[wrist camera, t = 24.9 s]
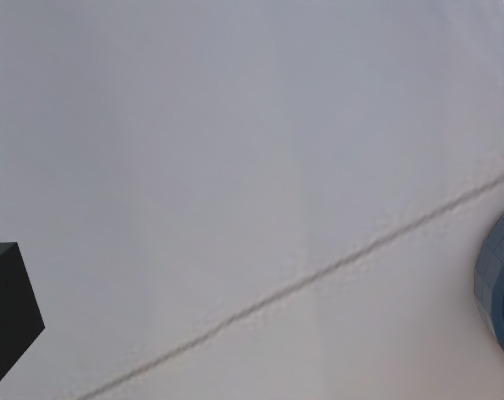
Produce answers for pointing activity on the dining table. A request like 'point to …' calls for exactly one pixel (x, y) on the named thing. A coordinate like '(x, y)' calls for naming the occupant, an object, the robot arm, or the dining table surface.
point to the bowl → (492, 282)
